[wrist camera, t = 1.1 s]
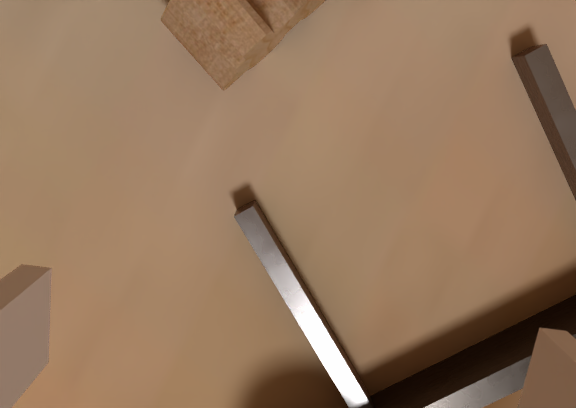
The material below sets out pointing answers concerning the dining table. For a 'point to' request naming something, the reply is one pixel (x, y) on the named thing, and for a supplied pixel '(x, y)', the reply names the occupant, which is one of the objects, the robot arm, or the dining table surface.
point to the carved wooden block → (233, 31)
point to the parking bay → (476, 359)
